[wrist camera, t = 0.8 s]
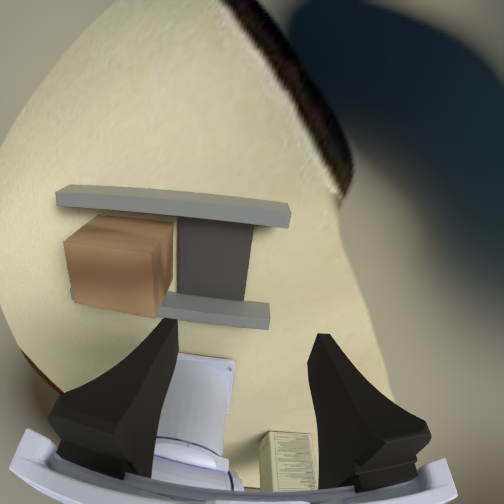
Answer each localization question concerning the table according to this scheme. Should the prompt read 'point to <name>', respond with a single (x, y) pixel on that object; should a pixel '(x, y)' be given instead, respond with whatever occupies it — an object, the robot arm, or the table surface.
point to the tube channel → (199, 247)
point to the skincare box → (287, 462)
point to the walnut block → (121, 264)
